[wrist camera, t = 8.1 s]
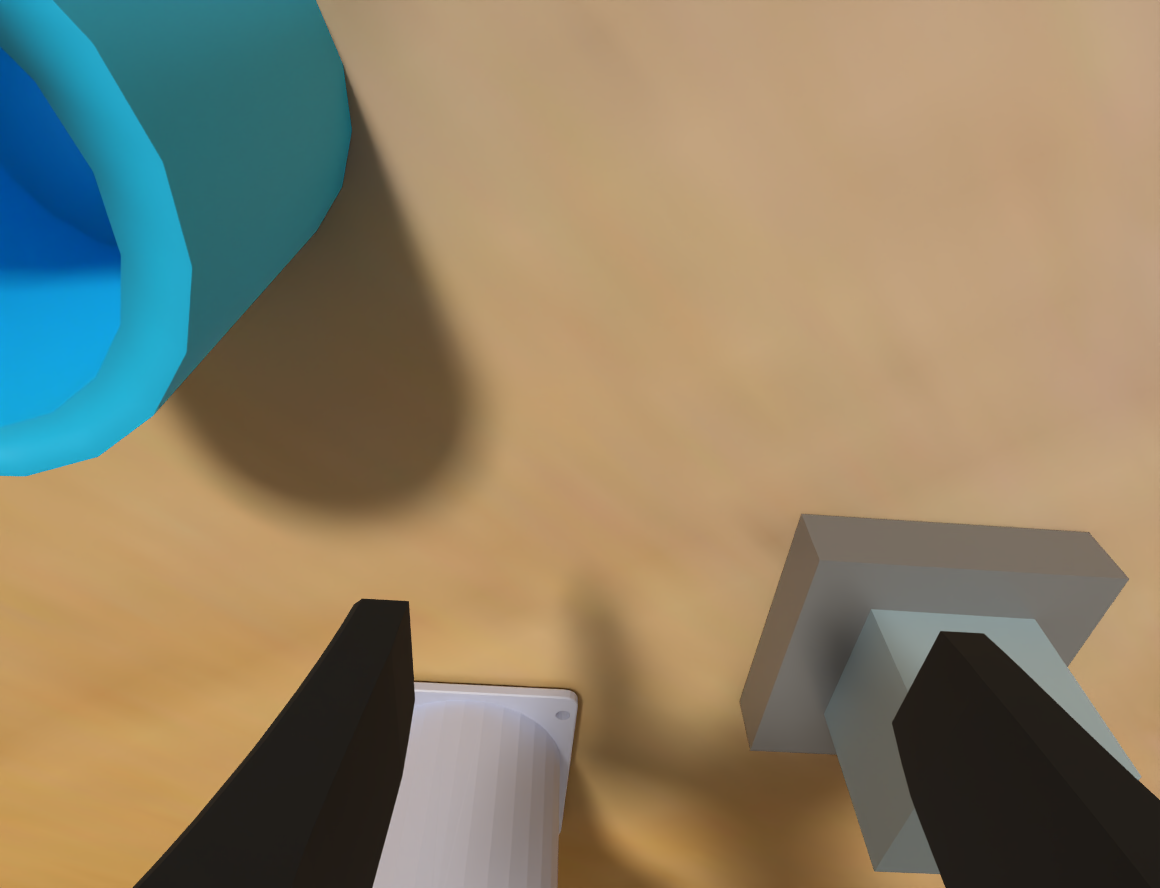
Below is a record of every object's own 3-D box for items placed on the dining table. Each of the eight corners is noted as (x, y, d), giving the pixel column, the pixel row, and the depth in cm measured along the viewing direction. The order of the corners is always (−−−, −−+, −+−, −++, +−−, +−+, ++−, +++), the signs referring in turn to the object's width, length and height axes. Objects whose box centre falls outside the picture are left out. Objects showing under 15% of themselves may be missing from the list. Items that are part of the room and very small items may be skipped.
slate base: (975, 713, 28) (1000, 762, 26) (739, 701, 27) (750, 750, 26) (1088, 532, 23) (1129, 578, 21) (801, 514, 22) (819, 560, 21)
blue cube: (969, 721, 25) (1048, 878, 21) (823, 714, 24) (874, 871, 20) (1035, 619, 22) (1141, 776, 18) (870, 609, 22) (941, 766, 18)
